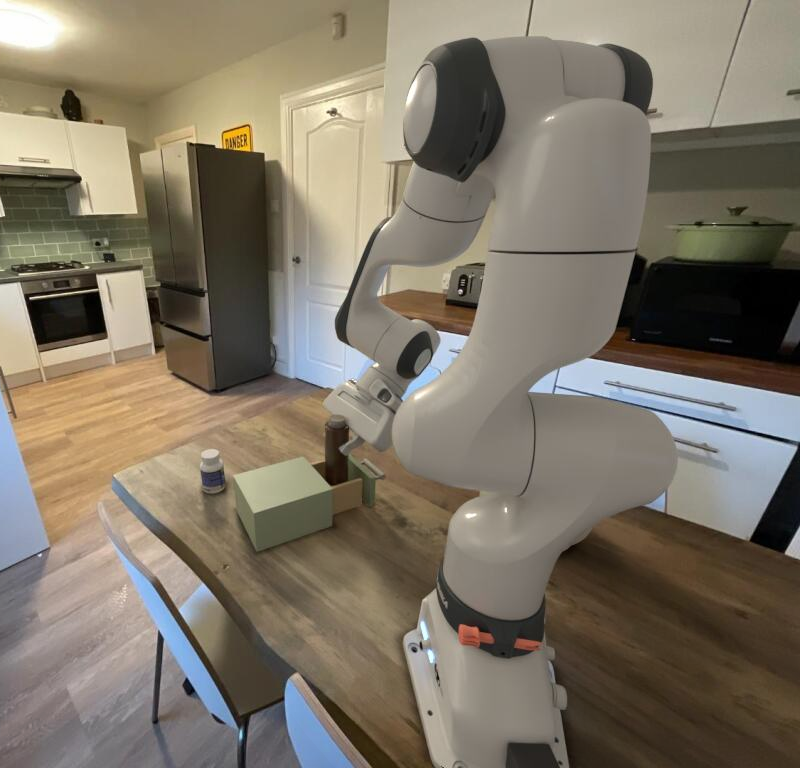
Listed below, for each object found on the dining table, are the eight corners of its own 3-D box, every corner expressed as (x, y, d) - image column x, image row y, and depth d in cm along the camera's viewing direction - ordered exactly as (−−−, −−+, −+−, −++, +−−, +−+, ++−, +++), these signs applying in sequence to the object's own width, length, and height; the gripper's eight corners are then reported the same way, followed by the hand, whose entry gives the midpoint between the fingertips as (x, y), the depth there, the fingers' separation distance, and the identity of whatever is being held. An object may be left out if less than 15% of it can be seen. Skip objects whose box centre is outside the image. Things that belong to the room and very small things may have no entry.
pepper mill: (346, 487, 82) (348, 424, 77) (323, 485, 83) (323, 422, 78) (348, 474, 86) (350, 413, 81) (326, 472, 87) (326, 411, 82)
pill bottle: (228, 490, 92) (224, 456, 88) (205, 496, 90) (200, 462, 86) (222, 478, 96) (219, 445, 93) (200, 483, 94) (196, 450, 91)
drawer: (361, 471, 95) (361, 445, 93) (391, 499, 85) (393, 471, 83) (287, 493, 88) (286, 466, 86) (311, 527, 78) (310, 497, 76)
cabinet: (304, 489, 91) (303, 456, 88) (332, 525, 80) (332, 488, 77) (236, 510, 85) (232, 475, 82) (256, 552, 74) (253, 513, 71)
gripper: (341, 368, 89) (301, 417, 89) (400, 402, 71) (351, 463, 71) (358, 383, 92) (319, 431, 92) (419, 419, 74) (371, 478, 74)
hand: (334, 445), depth 81 cm, fingers closed on pepper mill, 5 cm apart
